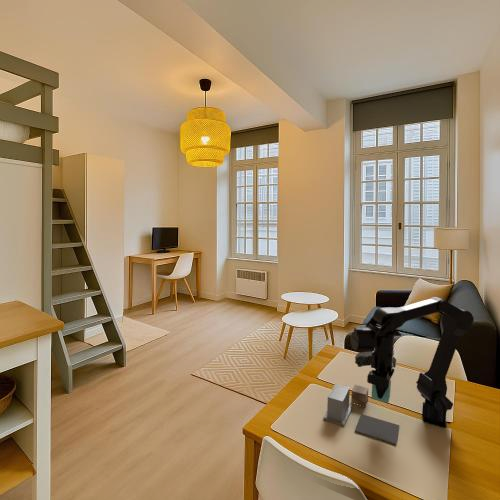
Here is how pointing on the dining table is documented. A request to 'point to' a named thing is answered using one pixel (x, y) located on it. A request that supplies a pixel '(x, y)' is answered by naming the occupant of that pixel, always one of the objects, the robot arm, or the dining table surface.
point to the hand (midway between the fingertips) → (381, 394)
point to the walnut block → (359, 395)
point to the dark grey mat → (377, 429)
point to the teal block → (385, 396)
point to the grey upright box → (338, 405)
